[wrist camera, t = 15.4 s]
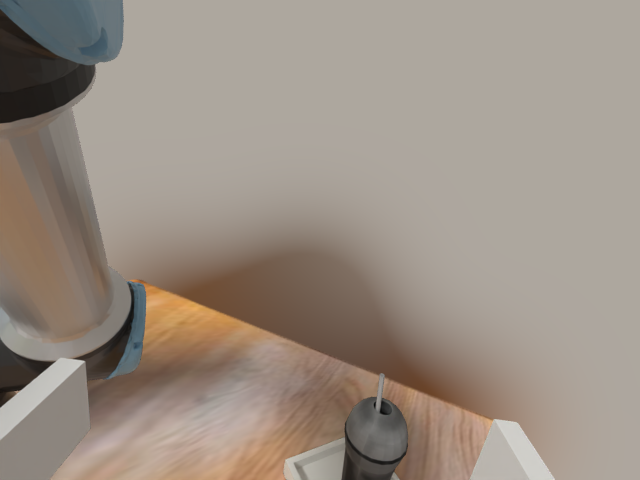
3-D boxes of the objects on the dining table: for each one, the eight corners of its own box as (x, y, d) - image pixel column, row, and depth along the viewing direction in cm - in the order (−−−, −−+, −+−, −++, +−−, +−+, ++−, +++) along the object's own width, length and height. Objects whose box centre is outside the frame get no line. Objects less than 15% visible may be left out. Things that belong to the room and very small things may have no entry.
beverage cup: (397, 528, 39) (441, 394, 33) (342, 546, 37) (378, 405, 31) (369, 469, 46) (402, 349, 40) (320, 481, 43) (347, 354, 37)
